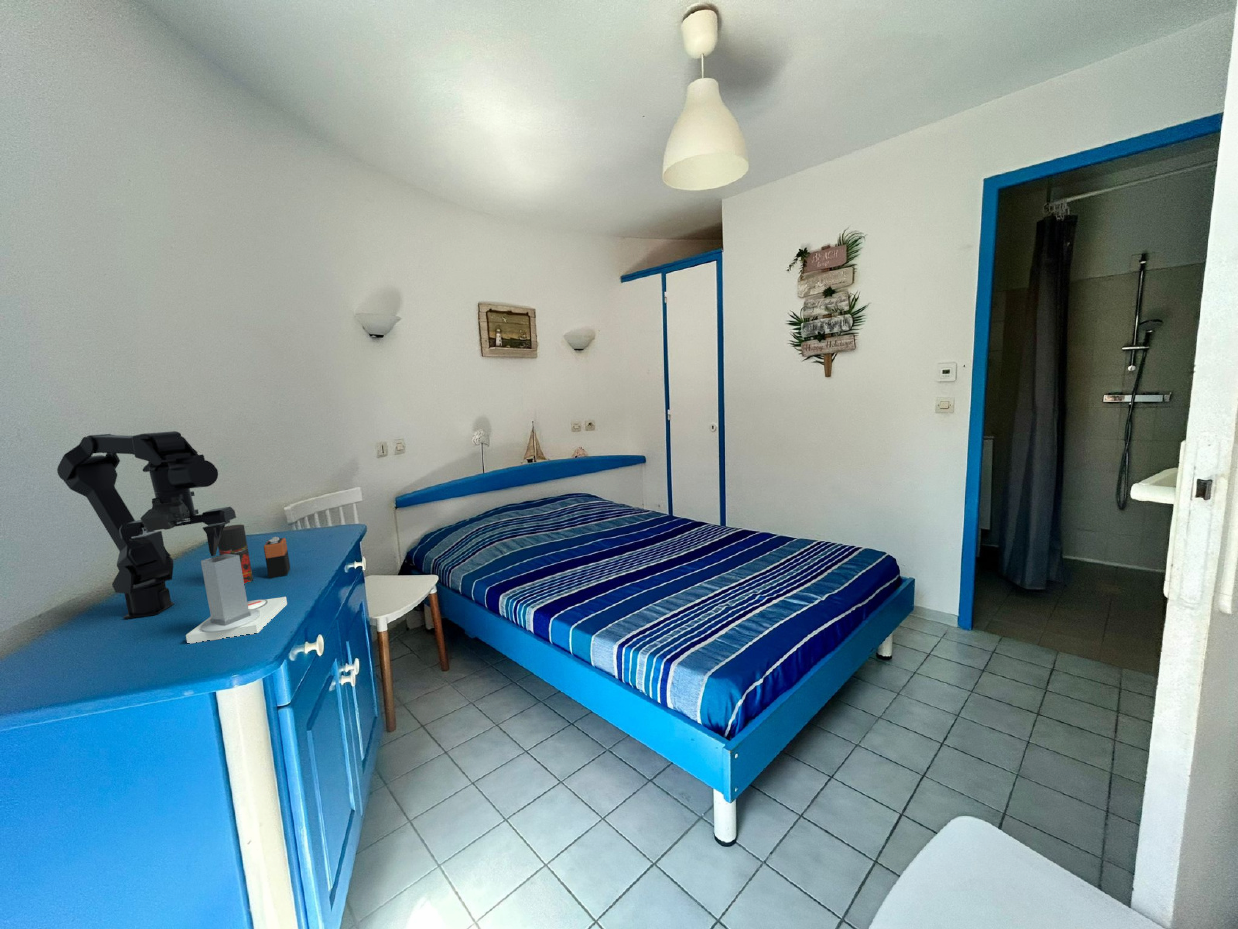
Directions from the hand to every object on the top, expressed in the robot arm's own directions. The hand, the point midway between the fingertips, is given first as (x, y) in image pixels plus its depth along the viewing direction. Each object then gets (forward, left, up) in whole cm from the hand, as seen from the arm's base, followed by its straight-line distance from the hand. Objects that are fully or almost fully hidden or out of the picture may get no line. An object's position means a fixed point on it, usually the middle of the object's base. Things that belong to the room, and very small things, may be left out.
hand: (188, 560), depth 109 cm
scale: (+12, -8, -13) cm, 19 cm away
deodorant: (-1, +21, -13) cm, 25 cm away
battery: (+7, +25, -13) cm, 29 cm away
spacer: (+12, -12, -11) cm, 19 cm away
